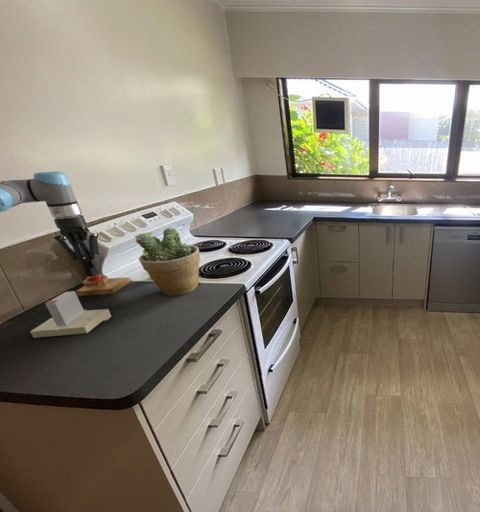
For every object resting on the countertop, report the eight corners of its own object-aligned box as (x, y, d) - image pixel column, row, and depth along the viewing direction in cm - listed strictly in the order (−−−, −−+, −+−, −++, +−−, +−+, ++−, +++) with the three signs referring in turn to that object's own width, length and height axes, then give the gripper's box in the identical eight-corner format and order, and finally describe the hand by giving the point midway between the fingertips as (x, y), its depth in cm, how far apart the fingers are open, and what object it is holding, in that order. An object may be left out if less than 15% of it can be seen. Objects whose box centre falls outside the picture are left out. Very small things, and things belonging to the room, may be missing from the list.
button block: (76, 296, 108) (72, 287, 107) (96, 284, 118) (92, 275, 116) (113, 293, 110) (109, 284, 109) (130, 281, 119) (127, 273, 118)
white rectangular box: (76, 313, 92) (65, 291, 89) (84, 312, 93) (74, 290, 90) (56, 326, 86) (44, 302, 83) (66, 325, 86) (54, 302, 83)
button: (85, 282, 111) (83, 278, 110) (93, 278, 115) (91, 274, 114) (97, 281, 111) (95, 277, 111) (104, 277, 115) (103, 273, 114)
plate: (32, 341, 84) (27, 332, 83) (65, 319, 95) (61, 311, 93) (86, 336, 86) (82, 327, 85) (112, 315, 97) (109, 307, 96)
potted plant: (170, 279, 121) (152, 222, 112) (216, 277, 123) (202, 221, 114) (140, 302, 105) (116, 237, 95) (194, 299, 106) (175, 235, 97)
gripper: (37, 219, 99) (66, 280, 108) (80, 218, 101) (105, 278, 110) (56, 214, 106) (82, 272, 115) (96, 213, 108) (118, 269, 117)
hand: (93, 274), depth 112 cm, fingers closed
